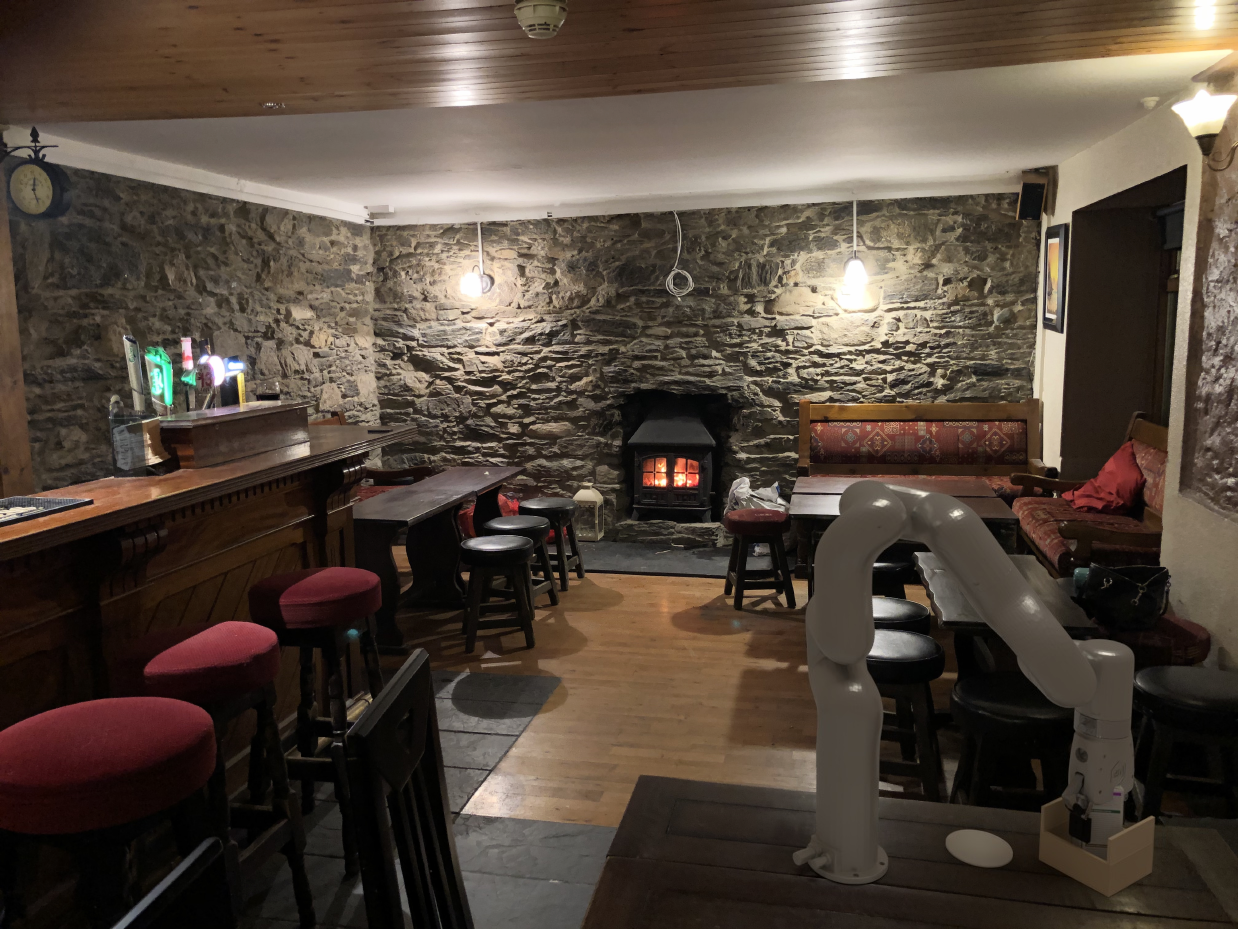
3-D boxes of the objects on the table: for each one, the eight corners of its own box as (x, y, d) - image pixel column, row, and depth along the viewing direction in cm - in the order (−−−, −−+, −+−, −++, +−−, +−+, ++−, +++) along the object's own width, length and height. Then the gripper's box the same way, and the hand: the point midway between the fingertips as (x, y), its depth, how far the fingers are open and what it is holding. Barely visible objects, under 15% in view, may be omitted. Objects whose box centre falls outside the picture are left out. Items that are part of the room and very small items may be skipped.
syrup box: (1122, 878, 134) (1127, 788, 132) (1079, 875, 135) (1084, 785, 133) (1109, 857, 139) (1114, 770, 137) (1068, 853, 140) (1072, 767, 138)
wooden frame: (1108, 897, 130) (1111, 840, 128) (1038, 859, 139) (1041, 806, 138) (1151, 872, 135) (1155, 817, 134) (1082, 837, 145) (1084, 786, 143)
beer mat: (984, 875, 136) (985, 872, 136) (932, 844, 144) (932, 841, 144) (1026, 854, 141) (1026, 852, 141) (973, 825, 149) (973, 823, 149)
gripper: (1091, 747, 126) (1085, 860, 129) (1160, 717, 135) (1153, 824, 137) (1043, 727, 133) (1038, 836, 135) (1111, 700, 141) (1106, 803, 144)
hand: (1096, 829), depth 136 cm, fingers closed on syrup box, 8 cm apart
